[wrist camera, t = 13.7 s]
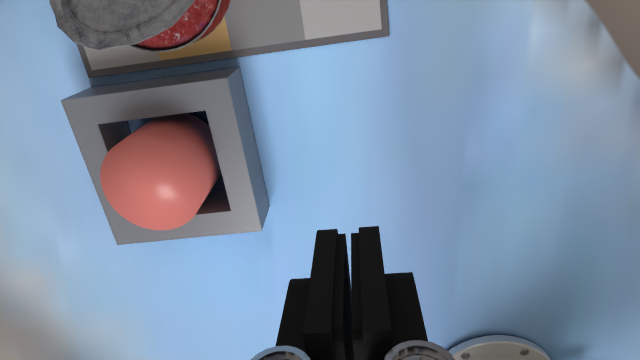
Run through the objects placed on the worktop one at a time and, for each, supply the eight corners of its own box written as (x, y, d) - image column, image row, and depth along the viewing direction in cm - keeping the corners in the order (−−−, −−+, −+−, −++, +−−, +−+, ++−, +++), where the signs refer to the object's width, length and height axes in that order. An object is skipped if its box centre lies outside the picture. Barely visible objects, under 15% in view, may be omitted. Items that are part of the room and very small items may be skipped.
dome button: (212, 106, 33) (186, 131, 28) (232, 188, 36) (213, 225, 31) (126, 117, 34) (85, 144, 29) (152, 197, 37) (119, 234, 32)
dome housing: (239, 67, 33) (226, 77, 29) (269, 206, 38) (261, 230, 34) (90, 87, 34) (60, 100, 31) (138, 220, 39) (117, 244, 35)
